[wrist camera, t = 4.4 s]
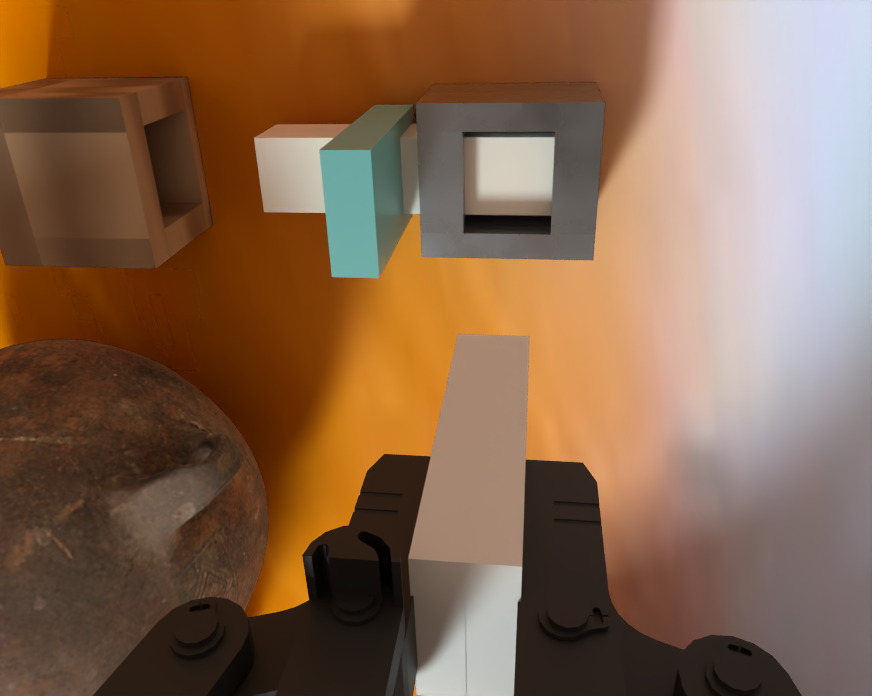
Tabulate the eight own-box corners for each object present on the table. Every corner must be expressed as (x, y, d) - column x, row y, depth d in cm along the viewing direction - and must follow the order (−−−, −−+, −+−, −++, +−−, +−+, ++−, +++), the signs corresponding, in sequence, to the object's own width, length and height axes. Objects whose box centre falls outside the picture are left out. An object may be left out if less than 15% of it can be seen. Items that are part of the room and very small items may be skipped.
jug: (227, 610, 57) (-48, 1170, 30) (-34, 479, 54) (-590, 973, 27) (370, 384, 45) (134, 961, 19) (51, 205, 43) (-749, 592, 16)
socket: (187, 76, 38) (118, 97, 32) (212, 224, 42) (156, 268, 36) (45, 78, 39) (-47, 99, 33) (83, 222, 43) (6, 265, 37)
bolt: (595, 102, 36) (613, 150, 26) (587, 207, 38) (602, 283, 29) (279, 105, 38) (194, 149, 28) (291, 203, 40) (216, 274, 31)
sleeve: (595, 82, 36) (605, 101, 30) (586, 220, 39) (593, 260, 34) (434, 84, 37) (415, 103, 31) (437, 218, 40) (421, 257, 35)
